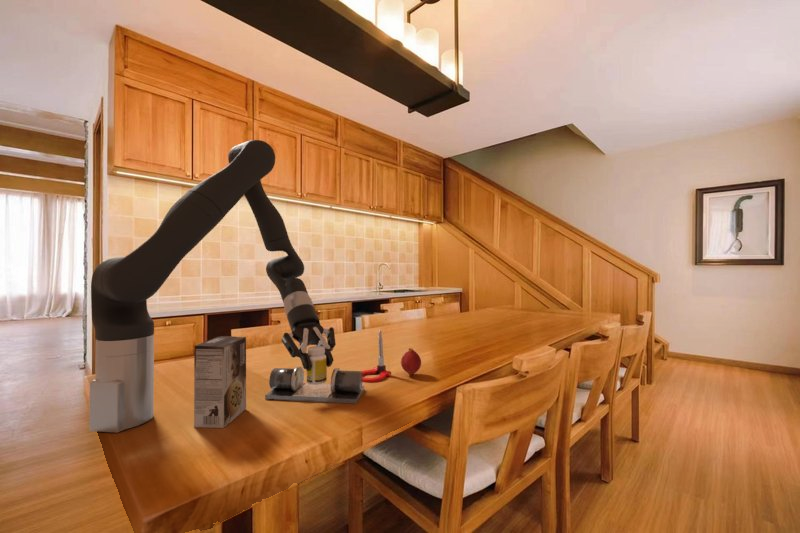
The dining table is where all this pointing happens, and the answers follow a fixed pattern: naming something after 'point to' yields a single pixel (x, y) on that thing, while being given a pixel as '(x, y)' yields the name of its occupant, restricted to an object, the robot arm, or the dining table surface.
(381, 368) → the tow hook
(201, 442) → the dining table surface
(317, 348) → the supplement bottle
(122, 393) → the robot arm
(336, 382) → the twin cylinder plate
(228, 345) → the coffee box
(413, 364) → the onion
